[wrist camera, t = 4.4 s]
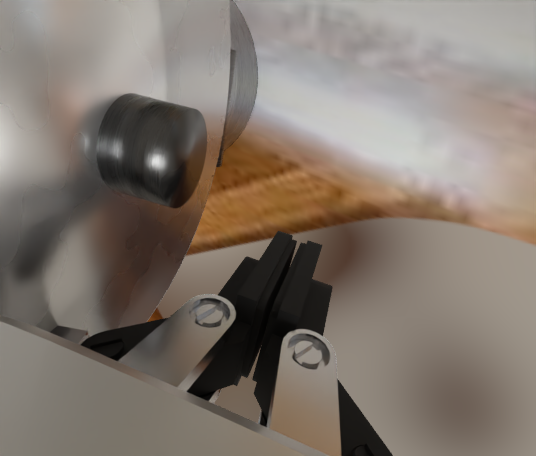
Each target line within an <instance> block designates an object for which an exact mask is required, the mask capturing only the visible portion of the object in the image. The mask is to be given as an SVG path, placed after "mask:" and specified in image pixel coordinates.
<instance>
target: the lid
mask: <svg viewBox="0 0 536 456" xmlns="http://www.w3.org/2000/svg"><path fill="white" fill-rule="evenodd" d="M230 48H231V36H230V5H229V0H0V315H1V316H5V317H9V318H12V319H15V320H18V321H21V322H24V323H27V324H29V325H32V326H35V327H38V328H40V329H42V330H45V331H47V332H51V331H52V330H53V329H54V328H55V327H56V326H64V327H69V328H74V329H80V330H85V331H88V335H89V336H93V335H94V334H97V333H100V332H103V331H107V330H112V329H117V328H121V327H126V326H131V325H136V324H141V323H146V322H147V321H148V319H149V318H150V316H151V315H152V313H153V312H154V310H155V309H156V307H157V306H158V304H159V303H160V301H161V300H162V298H163V296H164V294H165V293H166V291H167V290H168V288H169V286H170V284H171V283H172V280H173V279H174V277H175V275H176V273H177V271H178V269H179V268H180V266H181V264H182V261H183V259H184V257H185V255H186V253H187V251H188V249H189V246H190V244H191V242H192V239H193V237H194V235H195V232H196V230H197V227H198V224H199V222H200V219H201V216H202V213H203V211H204V208H205V204H206V201H207V198H208V195H209V192H210V188H211V185H212V181H213V177H214V174H215V169H216V167H220V166H222V159H223V152H224V144H225V137H226V129H227V122H228V114H229V107H230V100H231V92H232V85H233V77H234V70H235V62H236V55H237V51H236V50H232V49H230Z"/></svg>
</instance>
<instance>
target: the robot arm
mask: <svg viewBox="0 0 536 456" xmlns="http://www.w3.org/2000/svg"><path fill="white" fill-rule="evenodd" d="M296 243H297V241H295V240H292V235H289V234H286V233H283V232H280V231H278V232H277V233H276V235H275V237H274V238H273V240H272V241H271V243H270V244H269V246H268V247H267V249H266V251H265V252H264V254H263V255H262V257H261V258H260V260H256V259H253V258H250V257H245V259H244V260H243V261H242V263H241V264H240V265H239V267H238V268H237V270H236V271H235V272H234V274H233V275H232V276H231V278H230V279H229V280H228V282H227V283H226V284H225V286H224V287H223V289H222V290H221V291H220V293H219V294H218V295H212V294H205V295H199V296H196V297H194V298H192V299H191V300H189V301H188V302H187V303H185V304H184V305H183V306H182V307H181V308H180V309H179V310H177V311H176V312H175V313H174V314H173V315H171V317H169V318H165V319H160V320H155V321H151V322H146V323H141V324H136V325H131V326H126V327H121V328H117V329H112V330H107V331H103V332H100V333H97V334H94V335H93V336H89V335H88V331H85V330H80V329H74V328H69V327H64V326H56V327H55V328H54V329H53V330H52V331H51V332H47V331H45V330H42V329H40V328H38V327H35V326H32V325H29V324H27V323H24V322H21V321H18V320H15V319H12V318H9V317H5V316H1V315H0V456H393V455H392V454H391V453H390V451H389V450H388V448H387V447H386V445H385V444H384V443H383V441H382V440H381V439H380V437H379V436H378V434H377V433H376V431H375V430H374V429H373V427H372V426H371V425H370V423H369V422H368V420H367V419H366V418H365V417H364V415H363V414H362V412H361V411H360V409H359V408H358V407H357V405H356V404H355V403H354V401H353V400H352V398H351V397H350V396H349V394H348V393H347V391H346V390H345V389H344V387H343V386H342V384H341V383H340V382H339V380H338V379H337V364H336V355H335V351H334V349H333V347H332V345H331V344H330V343H329V342H328V341H327V339H326V338H324V337H323V332H324V327H325V322H326V317H327V312H328V307H329V302H330V297H331V292H332V286H331V285H328V284H325V283H322V282H319V281H316V280H313V279H312V277H313V273H314V270H315V267H316V263H317V260H318V257H319V254H320V251H321V248H322V245H320V244H317V243H314V242H311V241H308V242H307V244H305V243H301V244H300V246H299V248H298V250H297V253H296V255H295V257H294V259H293V261H292V264H291V260H292V257H293V254H294V250H295V246H296ZM290 264H291V266H290ZM261 345H262V346H261ZM260 348H261V349H260ZM259 350H260V353H259V357H258V361H257V364H256V368H255V372H254V376H253V380H254V381H256V382H257V384H256V387H255V391H254V395H255V397H256V399H257V401H258V403H259V405H260V407H261V412H260V415H259V421H258V423H255V422H253V421H251V420H249V419H246V418H244V417H242V416H240V415H238V414H235V413H233V412H231V411H228V410H226V409H224V408H222V407H220V406H217V405H215V404H214V402H215V401H216V399H217V398H218V396H219V394H220V391H221V389H222V388H224V387H227V386H230V385H233V384H234V385H236V386H237V385H238V382H239V380H240V378H241V376H244V377H246V378H247V377H248V375H249V373H250V371H251V369H252V366H253V364H254V362H255V359H256V357H257V354H258V352H259Z"/></svg>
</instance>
